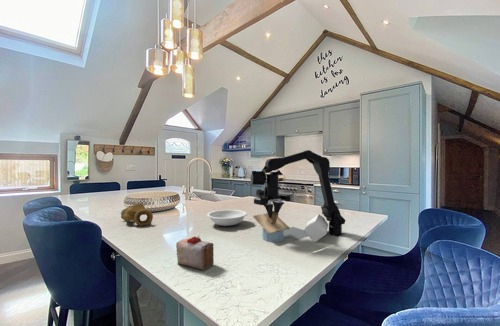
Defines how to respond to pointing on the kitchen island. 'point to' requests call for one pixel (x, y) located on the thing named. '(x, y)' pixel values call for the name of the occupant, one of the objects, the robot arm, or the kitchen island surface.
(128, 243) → the kitchen island surface
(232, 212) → the soup bowl
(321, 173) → the robot arm
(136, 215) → the brown looped sculpture
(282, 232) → the ceramic bowl
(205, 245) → the food item
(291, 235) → the rubber mat
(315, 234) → the milk carton
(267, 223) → the oak lid
